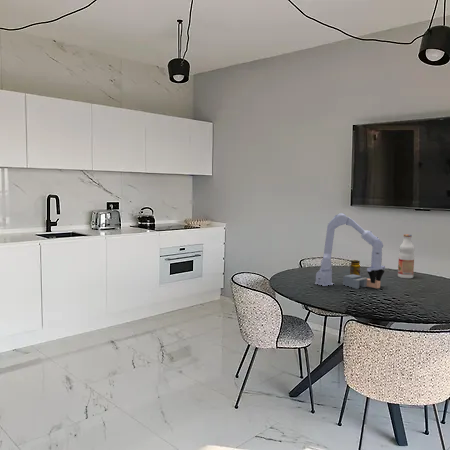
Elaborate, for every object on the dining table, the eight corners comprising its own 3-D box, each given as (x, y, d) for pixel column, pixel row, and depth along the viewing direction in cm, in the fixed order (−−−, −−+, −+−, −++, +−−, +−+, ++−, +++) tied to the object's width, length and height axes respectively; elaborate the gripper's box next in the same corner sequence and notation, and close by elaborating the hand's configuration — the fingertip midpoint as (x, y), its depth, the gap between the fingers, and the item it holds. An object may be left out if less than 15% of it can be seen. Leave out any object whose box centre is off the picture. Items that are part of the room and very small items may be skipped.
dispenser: (343, 285, 267) (343, 275, 266) (352, 283, 272) (353, 274, 272) (357, 288, 259) (357, 279, 258) (366, 286, 264) (367, 277, 263)
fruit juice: (408, 279, 286) (410, 236, 283) (394, 276, 293) (397, 234, 290) (415, 277, 292) (418, 234, 289) (402, 275, 299) (404, 233, 296)
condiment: (362, 280, 282) (362, 261, 281) (349, 280, 281) (350, 261, 279) (357, 277, 289) (357, 259, 288) (344, 278, 288) (345, 259, 287)
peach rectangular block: (363, 285, 268) (364, 278, 267) (367, 285, 270) (367, 278, 269) (376, 288, 261) (377, 281, 260) (380, 288, 262) (380, 281, 262)
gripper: (374, 261, 254) (373, 285, 256) (389, 259, 263) (388, 282, 264) (364, 260, 260) (363, 282, 261) (379, 257, 268) (378, 279, 270)
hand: (375, 282), depth 263 cm, fingers open, 4 cm apart
